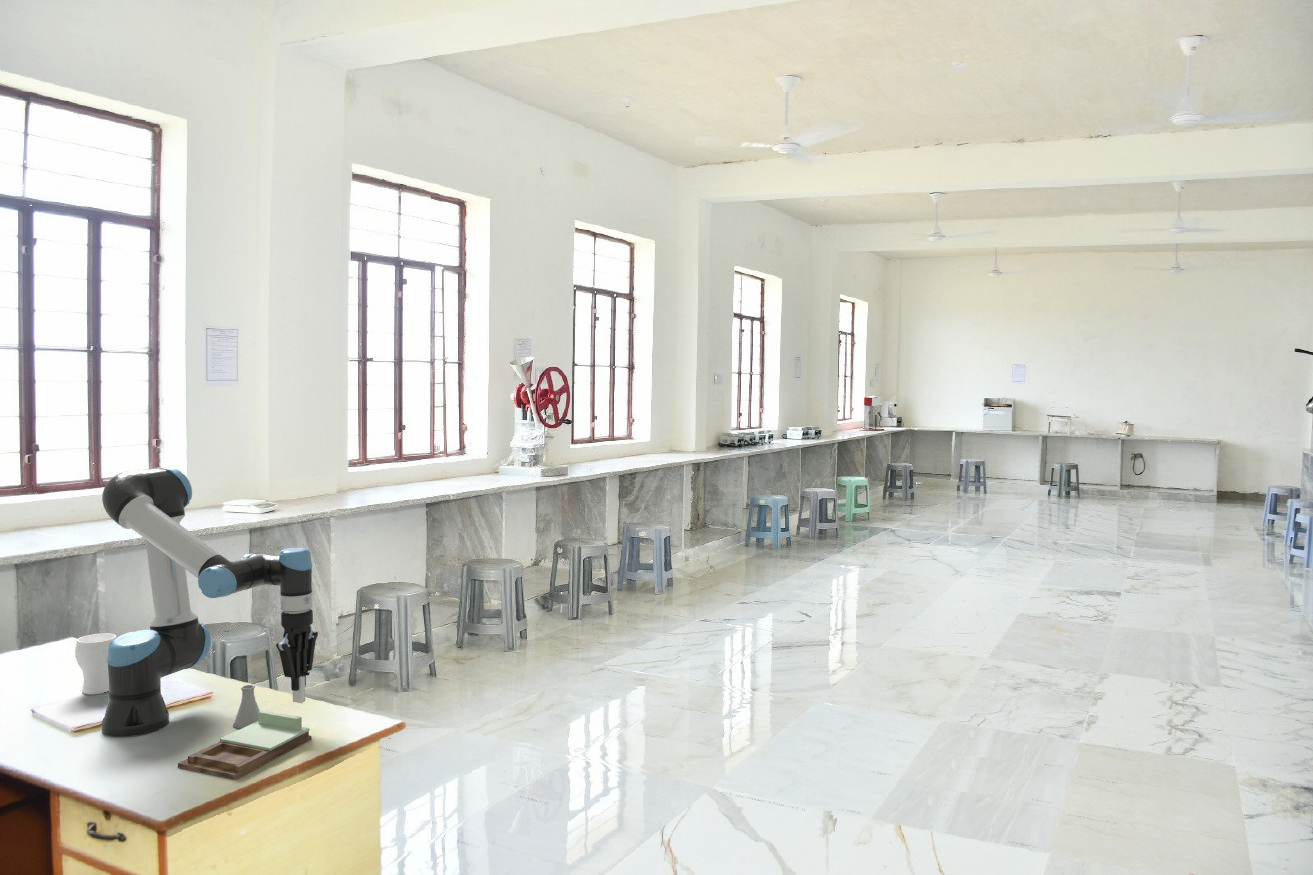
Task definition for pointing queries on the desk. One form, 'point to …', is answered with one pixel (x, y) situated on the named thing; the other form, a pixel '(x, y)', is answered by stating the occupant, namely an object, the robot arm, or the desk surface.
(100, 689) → the cup
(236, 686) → the desk surface
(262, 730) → the cover
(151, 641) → the robot arm
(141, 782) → the desk surface
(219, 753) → the tray
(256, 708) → the flask
